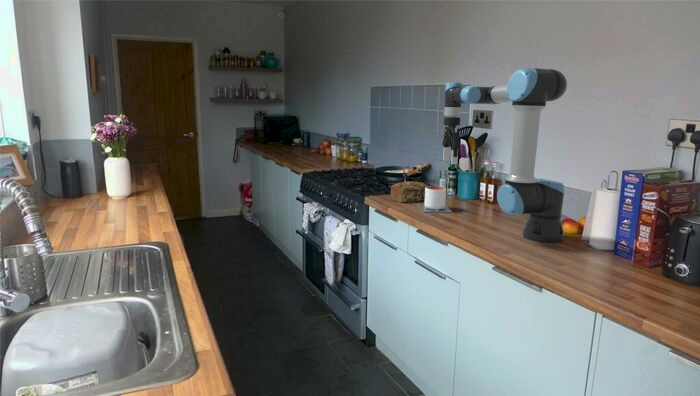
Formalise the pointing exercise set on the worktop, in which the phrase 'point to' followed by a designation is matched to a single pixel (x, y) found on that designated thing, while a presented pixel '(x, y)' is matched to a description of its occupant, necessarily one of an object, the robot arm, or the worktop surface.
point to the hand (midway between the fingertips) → (449, 162)
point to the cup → (435, 197)
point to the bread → (408, 191)
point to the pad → (426, 210)
